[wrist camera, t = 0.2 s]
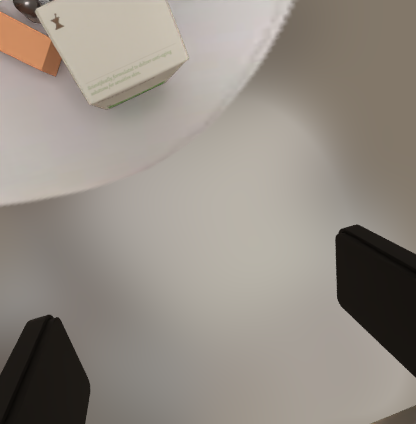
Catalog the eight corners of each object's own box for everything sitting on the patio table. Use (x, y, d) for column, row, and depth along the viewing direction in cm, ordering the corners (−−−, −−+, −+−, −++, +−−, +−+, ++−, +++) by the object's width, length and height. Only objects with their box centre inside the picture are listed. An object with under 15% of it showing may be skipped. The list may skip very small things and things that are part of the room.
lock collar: (55, 76, 32) (41, 70, 27) (-19, 40, 30) (-50, 26, 25) (64, 49, 32) (51, 38, 27) (-11, 10, 29) (-41, -10, 24)
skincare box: (105, 110, 35) (84, 112, 20) (73, 51, 32) (24, 6, 18) (169, 81, 35) (193, 62, 21) (143, 21, 33) (150, -47, 18)
